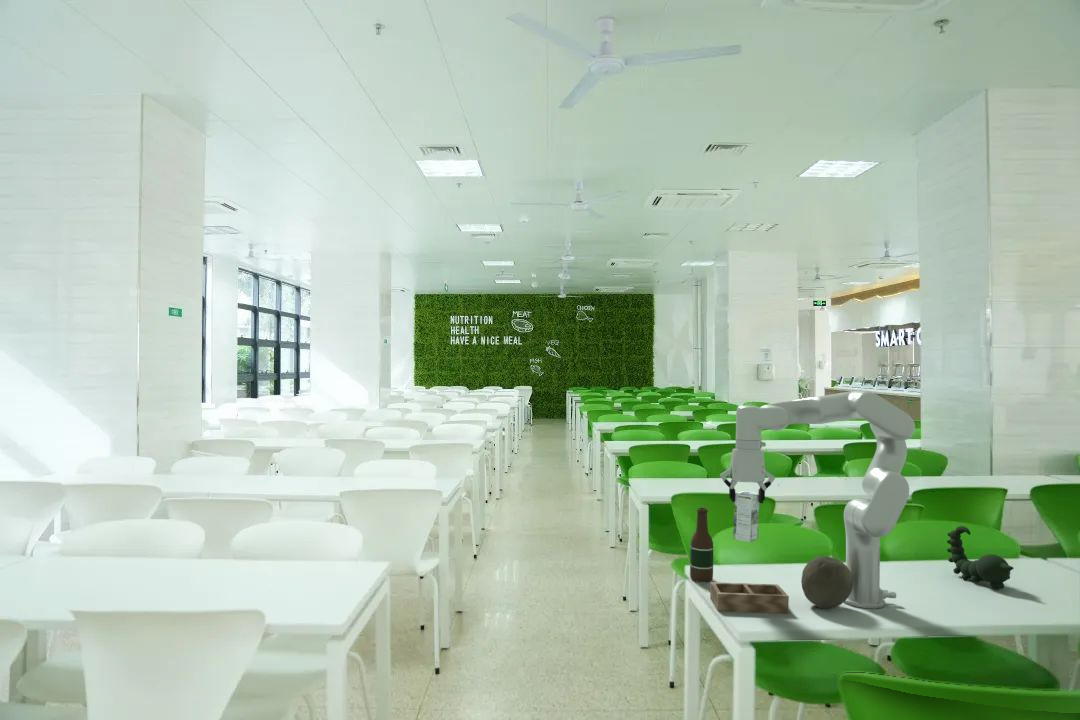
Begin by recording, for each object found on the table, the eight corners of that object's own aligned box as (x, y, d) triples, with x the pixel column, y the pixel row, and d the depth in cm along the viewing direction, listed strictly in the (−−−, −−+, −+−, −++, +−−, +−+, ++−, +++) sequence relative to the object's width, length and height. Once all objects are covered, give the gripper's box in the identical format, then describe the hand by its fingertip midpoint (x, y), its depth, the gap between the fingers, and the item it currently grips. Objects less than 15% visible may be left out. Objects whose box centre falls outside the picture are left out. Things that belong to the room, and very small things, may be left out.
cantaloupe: (835, 619, 194) (836, 566, 194) (791, 605, 206) (792, 555, 206) (861, 609, 203) (862, 559, 203) (818, 596, 214) (818, 548, 214)
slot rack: (777, 600, 209) (777, 584, 209) (788, 613, 198) (788, 596, 199) (710, 598, 210) (710, 582, 211) (717, 610, 200) (717, 593, 200)
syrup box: (740, 536, 214) (741, 490, 215) (758, 539, 210) (759, 492, 211) (732, 539, 210) (733, 492, 210) (751, 542, 206) (751, 495, 206)
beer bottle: (685, 576, 232) (686, 506, 233) (704, 574, 235) (705, 505, 235) (698, 583, 225) (699, 511, 225) (717, 581, 228) (718, 509, 228)
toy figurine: (942, 578, 241) (1002, 595, 216) (938, 524, 243) (998, 534, 218) (964, 577, 243) (1027, 593, 218) (961, 523, 245) (1023, 533, 220)
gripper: (773, 445, 214) (772, 500, 213) (717, 443, 215) (716, 498, 215) (780, 447, 206) (778, 505, 206) (721, 445, 208) (720, 503, 207)
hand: (746, 501), depth 210 cm, fingers closed on syrup box, 7 cm apart
